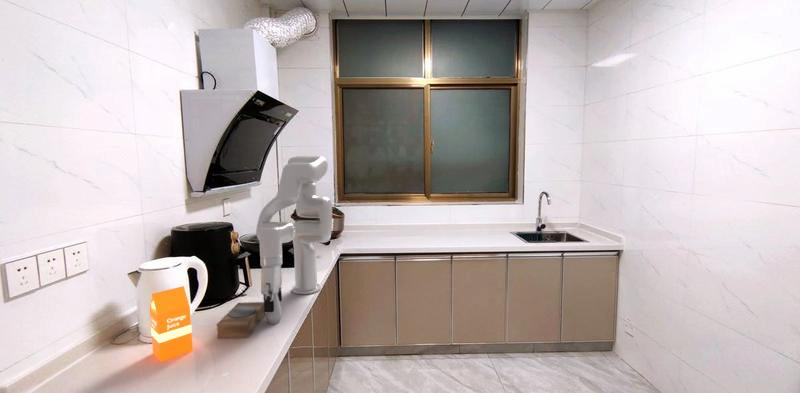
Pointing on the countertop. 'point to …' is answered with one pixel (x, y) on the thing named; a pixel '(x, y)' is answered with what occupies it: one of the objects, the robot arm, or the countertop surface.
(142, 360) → the countertop surface
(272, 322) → the salt shaker
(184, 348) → the orange juice
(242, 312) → the walnut stand
